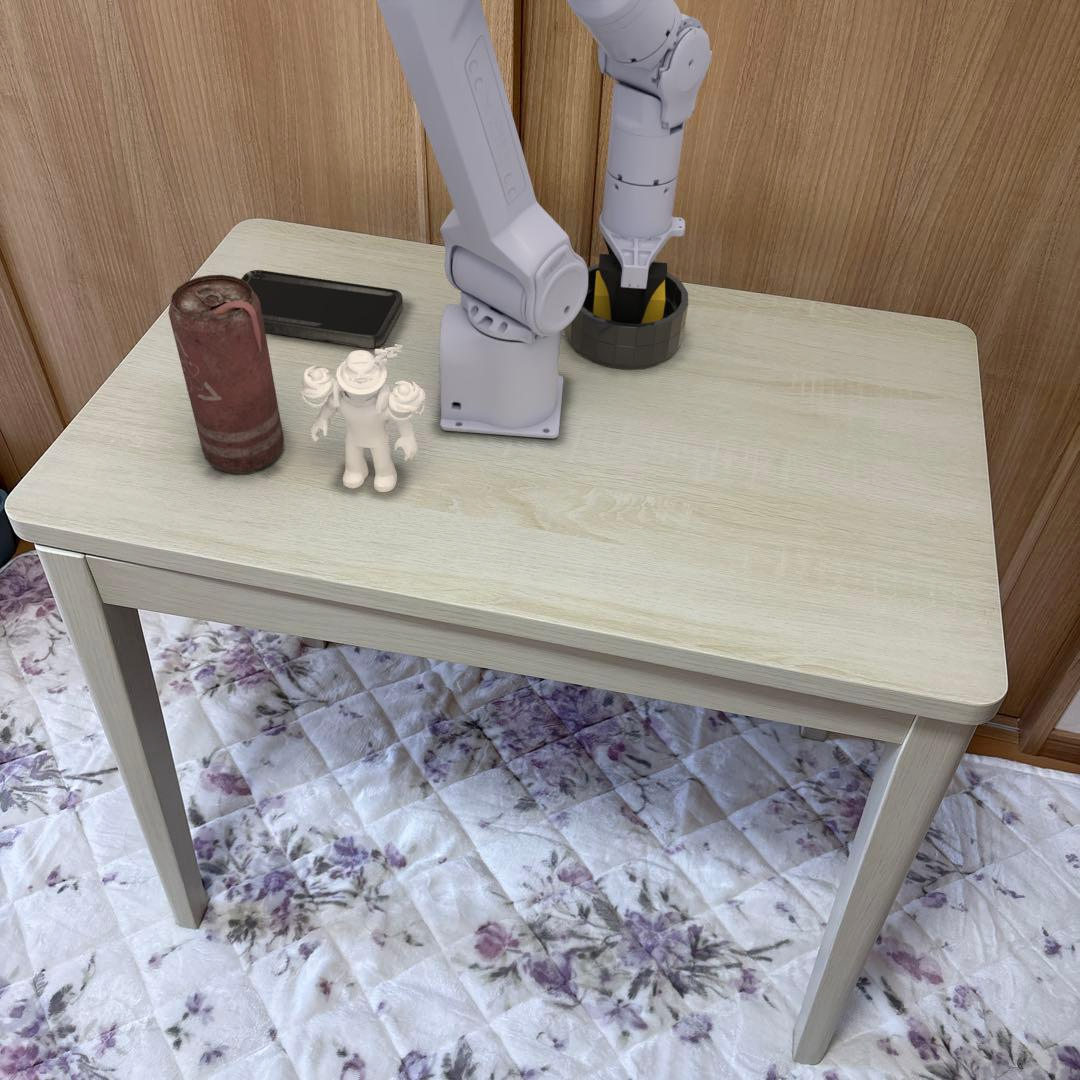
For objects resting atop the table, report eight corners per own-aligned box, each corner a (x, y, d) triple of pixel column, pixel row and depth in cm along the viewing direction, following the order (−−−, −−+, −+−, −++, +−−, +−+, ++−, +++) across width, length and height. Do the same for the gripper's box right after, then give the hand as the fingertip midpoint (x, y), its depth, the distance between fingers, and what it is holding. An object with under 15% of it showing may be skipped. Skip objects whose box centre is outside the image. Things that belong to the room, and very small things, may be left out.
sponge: (591, 339, 93) (595, 294, 90) (592, 313, 96) (596, 270, 93) (659, 344, 93) (665, 300, 90) (658, 318, 96) (664, 274, 92)
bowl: (562, 366, 91) (565, 322, 88) (568, 300, 98) (571, 257, 95) (682, 375, 91) (690, 331, 88) (680, 308, 98) (686, 265, 95)
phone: (249, 268, 98) (405, 290, 96) (251, 278, 99) (406, 301, 97) (214, 314, 92) (379, 339, 91) (216, 325, 93) (380, 350, 91)
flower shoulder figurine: (434, 471, 81) (428, 340, 73) (420, 505, 78) (412, 373, 70) (322, 452, 82) (303, 321, 74) (304, 485, 79) (282, 353, 71)
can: (270, 483, 79) (240, 326, 69) (191, 469, 80) (149, 312, 70) (299, 433, 84) (274, 278, 74) (223, 420, 84) (189, 265, 74)
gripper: (695, 218, 78) (672, 367, 88) (689, 132, 89) (669, 275, 98) (601, 211, 79) (588, 361, 88) (606, 126, 89) (593, 269, 98)
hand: (625, 315), depth 93 cm, fingers closed on sponge, 4 cm apart
